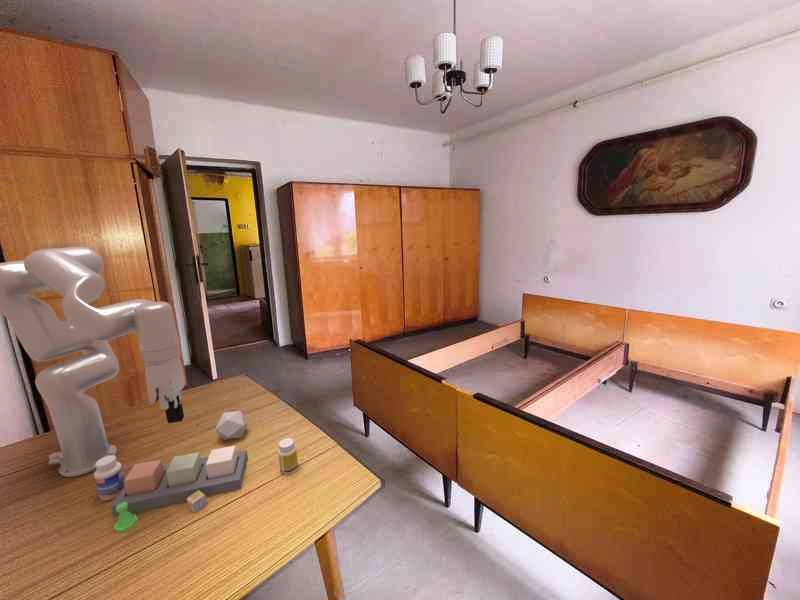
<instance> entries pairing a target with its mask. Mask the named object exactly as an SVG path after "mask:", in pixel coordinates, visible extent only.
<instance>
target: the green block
mask: <svg viewBox="0 0 800 600" xmlns="http://www.w3.org/2000/svg"><path fill="white" fill-rule="evenodd" d="M200 453H201V452H194V453H188V454H182V455H177V456H174V457H173V458H172V460H171V463H170V466H169V468H168V470H167V472H166V475H167V480H168V485H169V487H174V486H179V485H184V484H189V483H193V482H197V480H198V478H199V475H200V472H201V470H202V463H201V458H202V457H201V454H200Z"/></svg>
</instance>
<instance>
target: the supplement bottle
mask: <svg viewBox="0 0 800 600" xmlns="http://www.w3.org/2000/svg"><path fill="white" fill-rule="evenodd" d="M297 454H298V453H297V446H296V445H295V441H294V439H293V438H290V437H286V438H283V439H282V440H280V441H279V443H278V461H279V469H280V473H282V474H285V475H289V474H292V473H294V472H295V471H296V470H297V469H298V467H299V463H298V455H297Z"/></svg>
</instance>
